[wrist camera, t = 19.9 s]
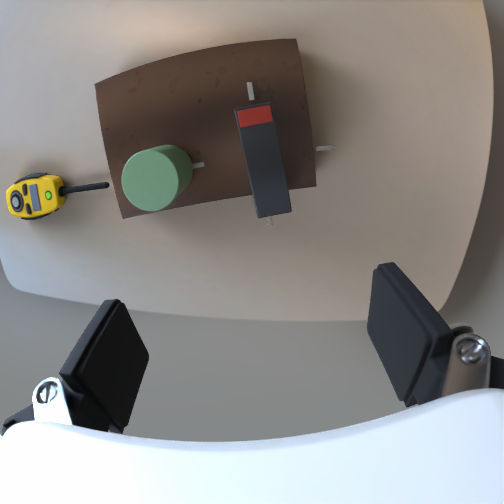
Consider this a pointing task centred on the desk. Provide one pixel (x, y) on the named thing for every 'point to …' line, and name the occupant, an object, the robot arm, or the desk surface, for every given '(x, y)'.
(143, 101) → the base
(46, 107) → the desk surface
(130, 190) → the green cylinder
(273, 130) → the block
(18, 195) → the yellow walkie-talkie
